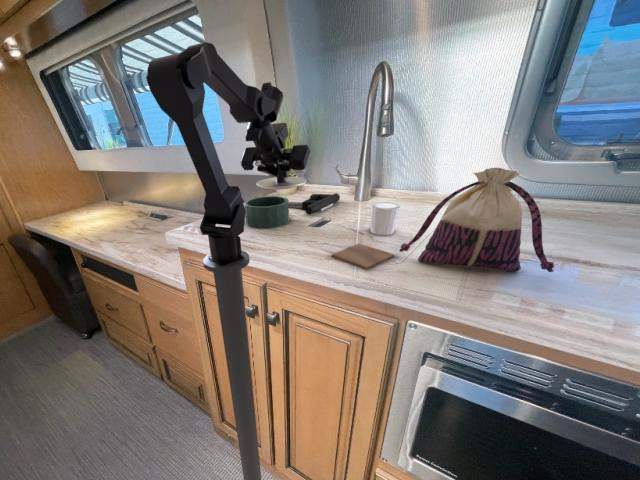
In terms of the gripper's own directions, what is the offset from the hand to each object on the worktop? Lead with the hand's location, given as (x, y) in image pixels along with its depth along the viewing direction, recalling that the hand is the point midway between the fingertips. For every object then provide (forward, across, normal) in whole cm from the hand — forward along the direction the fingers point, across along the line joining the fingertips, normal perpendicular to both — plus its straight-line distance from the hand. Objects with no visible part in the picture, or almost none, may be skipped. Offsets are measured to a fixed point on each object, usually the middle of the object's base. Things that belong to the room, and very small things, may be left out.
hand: (282, 176), depth 91 cm
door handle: (+22, -2, -3) cm, 23 cm away
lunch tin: (+8, +5, +11) cm, 14 cm away
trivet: (-5, -28, +24) cm, 37 cm away
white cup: (+8, -29, +11) cm, 32 cm away
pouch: (-3, -48, +23) cm, 53 cm away
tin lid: (0, 0, +2) cm, 2 cm away
